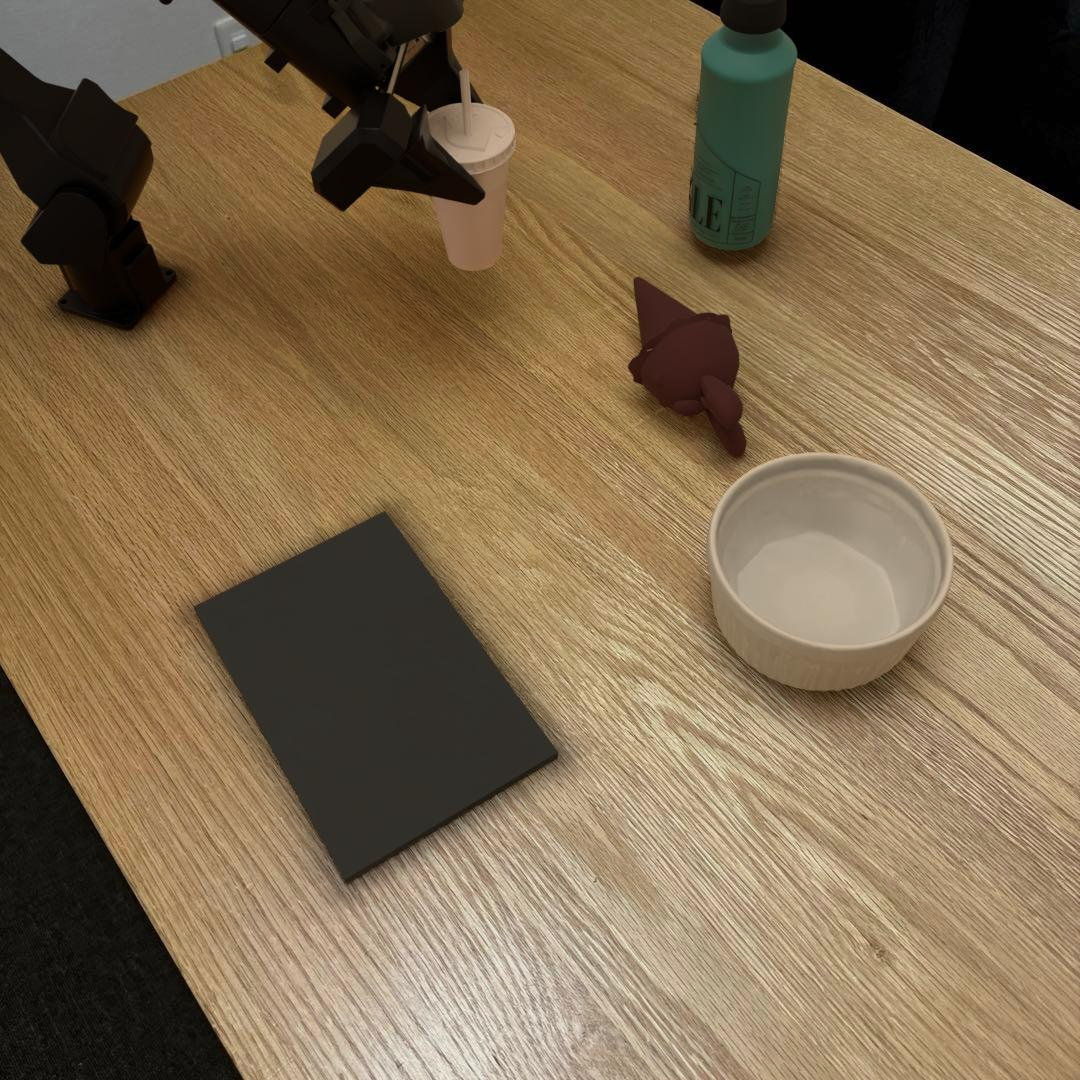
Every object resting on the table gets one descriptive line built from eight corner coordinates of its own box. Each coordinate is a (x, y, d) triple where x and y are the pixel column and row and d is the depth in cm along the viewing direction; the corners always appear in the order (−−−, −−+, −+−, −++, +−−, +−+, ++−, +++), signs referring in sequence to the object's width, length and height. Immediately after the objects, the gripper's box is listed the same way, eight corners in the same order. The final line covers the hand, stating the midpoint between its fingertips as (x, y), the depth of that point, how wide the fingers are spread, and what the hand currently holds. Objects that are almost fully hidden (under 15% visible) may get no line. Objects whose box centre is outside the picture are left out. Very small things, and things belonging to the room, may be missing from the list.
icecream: (577, 271, 79) (677, 439, 72) (677, 220, 79) (787, 384, 71) (597, 331, 85) (691, 492, 78) (690, 285, 85) (793, 442, 78)
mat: (195, 611, 71) (192, 606, 71) (386, 516, 75) (385, 510, 75) (346, 884, 61) (344, 880, 61) (558, 757, 65) (558, 752, 64)
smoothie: (457, 297, 79) (439, 112, 68) (411, 244, 83) (386, 59, 71) (538, 261, 81) (533, 75, 70) (489, 211, 85) (477, 26, 73)
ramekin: (927, 729, 65) (959, 665, 60) (687, 696, 67) (696, 630, 61) (924, 537, 73) (952, 464, 67) (708, 511, 75) (718, 438, 69)
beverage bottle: (786, 229, 90) (828, -28, 74) (746, 280, 87) (782, 23, 71) (709, 202, 93) (734, -54, 76) (668, 251, 89) (685, -5, 73)
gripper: (335, -11, 58) (563, 189, 66) (400, -182, 69) (588, 7, 77) (215, 124, 65) (435, 290, 73) (292, -51, 76) (475, 109, 84)
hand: (487, 167), depth 76 cm, fingers closed on smoothie, 6 cm apart
